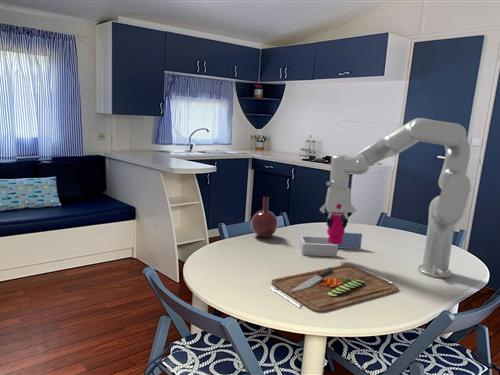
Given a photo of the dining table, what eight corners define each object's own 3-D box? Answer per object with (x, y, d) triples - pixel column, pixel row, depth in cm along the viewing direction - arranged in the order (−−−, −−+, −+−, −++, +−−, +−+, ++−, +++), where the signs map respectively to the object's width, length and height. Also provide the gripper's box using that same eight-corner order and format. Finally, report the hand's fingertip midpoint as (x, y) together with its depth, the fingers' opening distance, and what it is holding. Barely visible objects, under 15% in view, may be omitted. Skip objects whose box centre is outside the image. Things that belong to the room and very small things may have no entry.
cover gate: (359, 247, 196) (361, 231, 194) (360, 248, 195) (362, 231, 193) (331, 246, 195) (333, 229, 194) (332, 247, 194) (334, 230, 193)
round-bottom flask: (250, 232, 212) (252, 193, 209) (276, 233, 212) (279, 195, 208) (249, 239, 199) (252, 198, 196) (277, 241, 199) (280, 200, 195)
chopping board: (310, 317, 127) (311, 308, 127) (261, 284, 149) (262, 276, 149) (406, 290, 151) (407, 282, 151) (351, 266, 173) (352, 259, 173)
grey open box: (336, 256, 182) (337, 245, 182) (302, 254, 182) (303, 243, 181) (330, 247, 195) (331, 237, 194) (298, 245, 194) (299, 235, 193)
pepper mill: (345, 244, 173) (348, 197, 170) (328, 244, 174) (330, 197, 170) (342, 239, 181) (344, 194, 177) (325, 239, 181) (327, 193, 177)
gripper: (320, 186, 169) (317, 229, 172) (362, 186, 169) (359, 230, 172) (316, 183, 176) (314, 224, 180) (357, 183, 177) (354, 225, 180)
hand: (336, 226), depth 176 cm, fingers closed on pepper mill, 5 cm apart
